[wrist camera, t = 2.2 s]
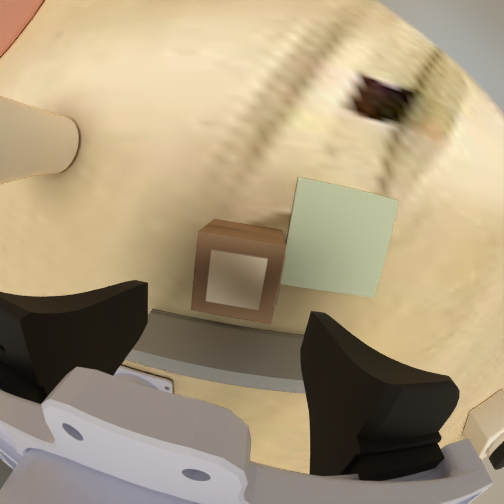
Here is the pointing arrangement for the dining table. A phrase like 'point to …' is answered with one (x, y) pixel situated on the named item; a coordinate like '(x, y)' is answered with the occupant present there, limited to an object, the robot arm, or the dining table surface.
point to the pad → (337, 238)
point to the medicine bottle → (488, 429)
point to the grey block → (220, 352)
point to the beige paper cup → (34, 141)
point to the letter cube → (238, 270)
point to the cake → (15, 19)
